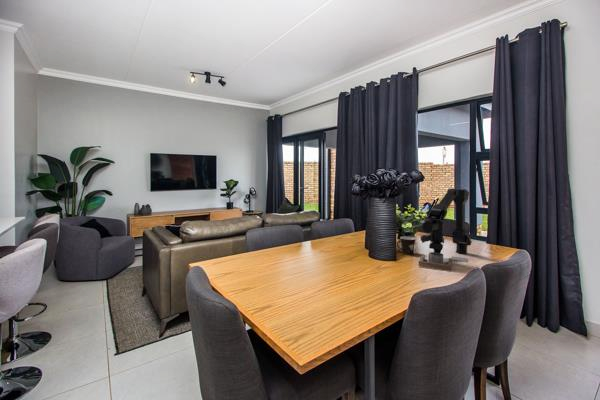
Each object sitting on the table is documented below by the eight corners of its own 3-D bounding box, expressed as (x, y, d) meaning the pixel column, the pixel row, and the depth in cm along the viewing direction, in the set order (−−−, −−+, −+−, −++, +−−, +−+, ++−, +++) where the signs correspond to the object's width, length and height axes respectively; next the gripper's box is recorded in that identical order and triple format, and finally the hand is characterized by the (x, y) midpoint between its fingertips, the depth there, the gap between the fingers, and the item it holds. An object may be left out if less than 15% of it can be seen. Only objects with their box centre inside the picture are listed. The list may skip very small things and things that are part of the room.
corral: (421, 259, 162) (422, 254, 162) (451, 263, 155) (452, 258, 154) (418, 267, 149) (418, 261, 149) (450, 271, 142) (451, 266, 142)
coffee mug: (412, 252, 178) (413, 236, 177) (417, 256, 169) (417, 239, 168) (393, 252, 179) (393, 236, 178) (396, 255, 170) (397, 239, 169)
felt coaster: (451, 257, 166) (451, 256, 166) (467, 259, 162) (467, 258, 162) (451, 261, 159) (451, 259, 159) (467, 263, 155) (467, 261, 155)
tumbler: (429, 262, 158) (429, 251, 157) (443, 264, 154) (443, 253, 154) (427, 265, 152) (428, 254, 151) (442, 267, 148) (442, 256, 148)
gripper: (423, 226, 168) (422, 252, 170) (419, 232, 152) (418, 260, 154) (444, 227, 163) (443, 254, 164) (442, 234, 147) (441, 263, 148)
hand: (436, 258), depth 158 cm, fingers closed
